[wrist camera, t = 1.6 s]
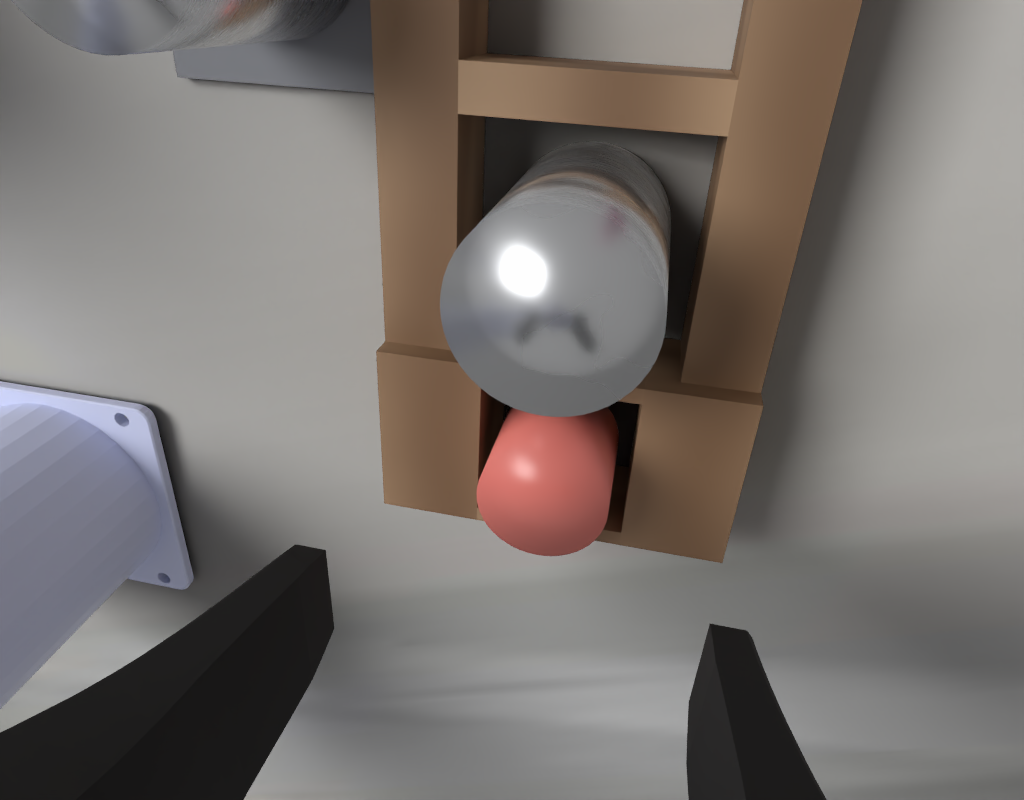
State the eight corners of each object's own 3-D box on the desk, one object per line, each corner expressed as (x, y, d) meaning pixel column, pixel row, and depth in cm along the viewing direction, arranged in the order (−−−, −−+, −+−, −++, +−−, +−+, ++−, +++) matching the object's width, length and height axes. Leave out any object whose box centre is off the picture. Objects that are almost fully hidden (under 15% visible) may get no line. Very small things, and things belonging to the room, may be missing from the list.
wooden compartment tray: (419, 444, 22) (384, 503, 19) (404, -307, 13) (338, -382, 11) (717, 492, 20) (722, 562, 18) (913, -314, 12) (976, -402, 9)
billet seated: (506, 292, 19) (440, 400, 14) (514, 134, 17) (440, 191, 12) (657, 311, 18) (647, 431, 13) (684, 149, 16) (685, 216, 11)
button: (502, 471, 19) (475, 543, 17) (507, 375, 18) (477, 437, 15) (611, 490, 19) (600, 566, 16) (625, 392, 17) (616, 459, 15)
